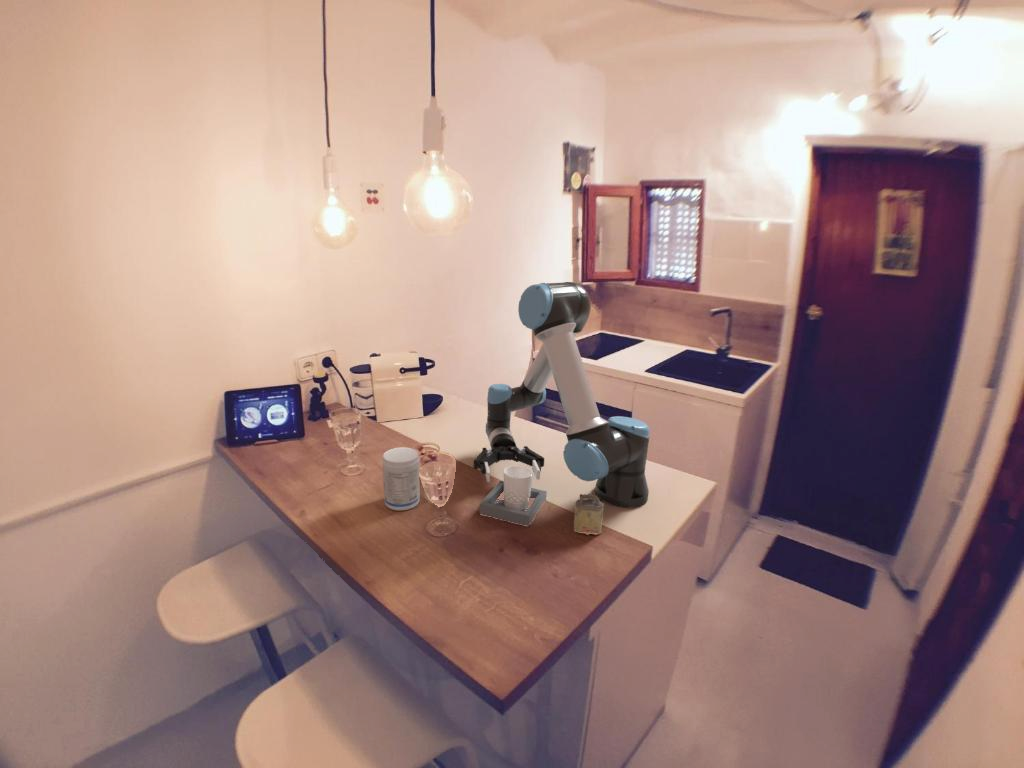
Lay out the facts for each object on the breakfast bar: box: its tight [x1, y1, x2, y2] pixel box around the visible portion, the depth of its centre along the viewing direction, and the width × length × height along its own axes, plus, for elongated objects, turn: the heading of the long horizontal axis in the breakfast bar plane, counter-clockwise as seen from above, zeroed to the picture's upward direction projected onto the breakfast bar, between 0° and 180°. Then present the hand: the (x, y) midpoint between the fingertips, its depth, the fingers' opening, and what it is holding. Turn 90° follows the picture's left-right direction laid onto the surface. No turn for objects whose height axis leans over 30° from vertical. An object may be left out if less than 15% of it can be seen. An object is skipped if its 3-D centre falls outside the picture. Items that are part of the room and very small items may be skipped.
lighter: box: [573, 493, 604, 533], centre depth 124 cm, size 7×4×10 cm, turn 85°
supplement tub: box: [382, 447, 421, 512], centre depth 134 cm, size 10×10×15 cm
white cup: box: [503, 464, 534, 511], centre depth 134 cm, size 8×8×10 cm
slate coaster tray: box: [478, 480, 548, 526], centre depth 135 cm, size 14×14×4 cm
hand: (513, 476), depth 133 cm, fingers open, 13 cm apart
